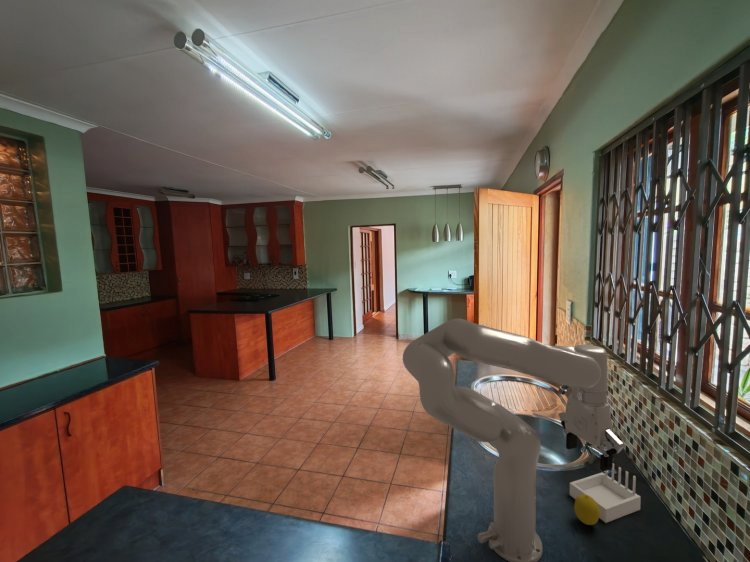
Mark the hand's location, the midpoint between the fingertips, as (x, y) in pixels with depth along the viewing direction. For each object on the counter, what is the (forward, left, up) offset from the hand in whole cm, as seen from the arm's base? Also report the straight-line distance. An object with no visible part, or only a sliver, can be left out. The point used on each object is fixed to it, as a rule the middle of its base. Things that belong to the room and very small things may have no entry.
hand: (587, 458), depth 87 cm
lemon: (0, 0, -18) cm, 18 cm away
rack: (+11, +4, -18) cm, 22 cm away
